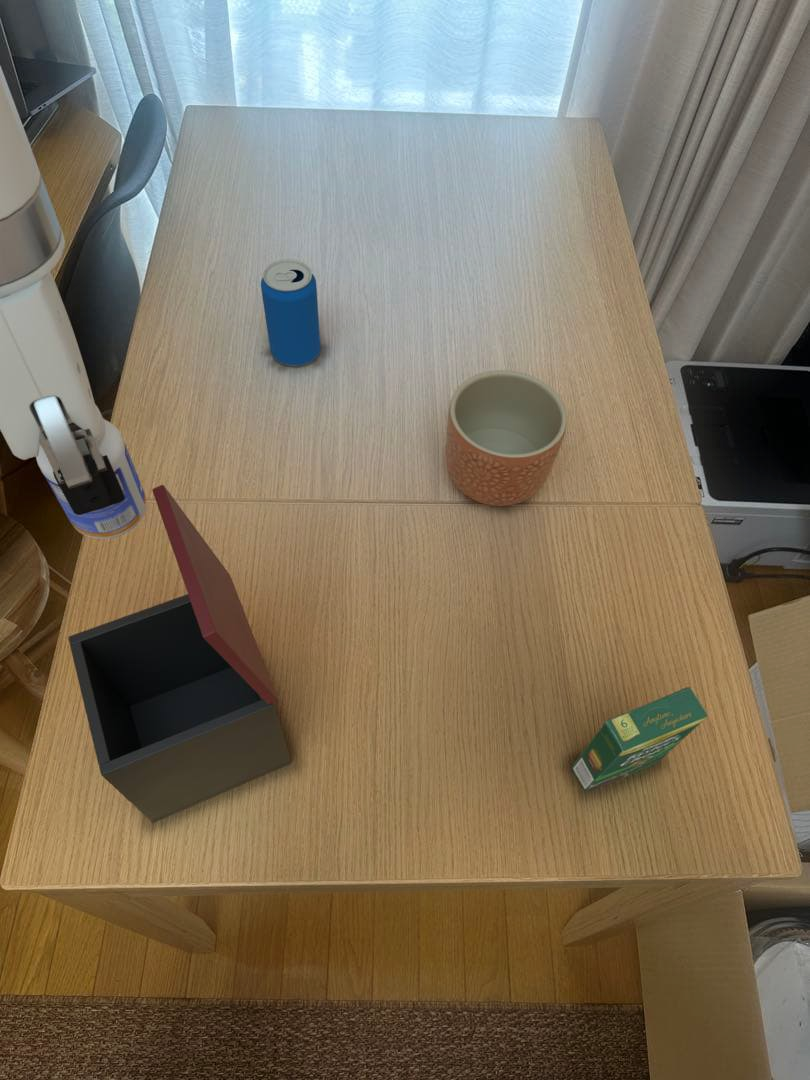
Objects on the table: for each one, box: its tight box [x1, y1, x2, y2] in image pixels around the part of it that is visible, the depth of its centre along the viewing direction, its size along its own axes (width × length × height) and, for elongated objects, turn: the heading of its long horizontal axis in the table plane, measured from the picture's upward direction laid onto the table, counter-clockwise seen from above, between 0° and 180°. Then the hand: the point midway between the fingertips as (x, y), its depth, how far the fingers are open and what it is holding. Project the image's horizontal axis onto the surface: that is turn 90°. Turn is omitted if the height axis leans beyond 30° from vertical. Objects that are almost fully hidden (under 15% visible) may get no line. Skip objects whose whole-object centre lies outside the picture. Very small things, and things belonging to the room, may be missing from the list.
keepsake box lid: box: [152, 484, 279, 704], centre depth 51 cm, size 14×12×1 cm
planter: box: [444, 369, 568, 507], centre depth 81 cm, size 12×12×11 cm
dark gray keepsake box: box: [68, 593, 292, 824], centre depth 62 cm, size 13×12×15 cm
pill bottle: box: [35, 404, 148, 540], centre depth 49 cm, size 5×5×10 cm
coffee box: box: [570, 686, 708, 794], centre depth 62 cm, size 8×3×13 cm, turn 111°
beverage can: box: [260, 258, 322, 367], centre depth 91 cm, size 6×6×12 cm
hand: (88, 469), depth 49 cm, fingers closed on pill bottle, 5 cm apart
